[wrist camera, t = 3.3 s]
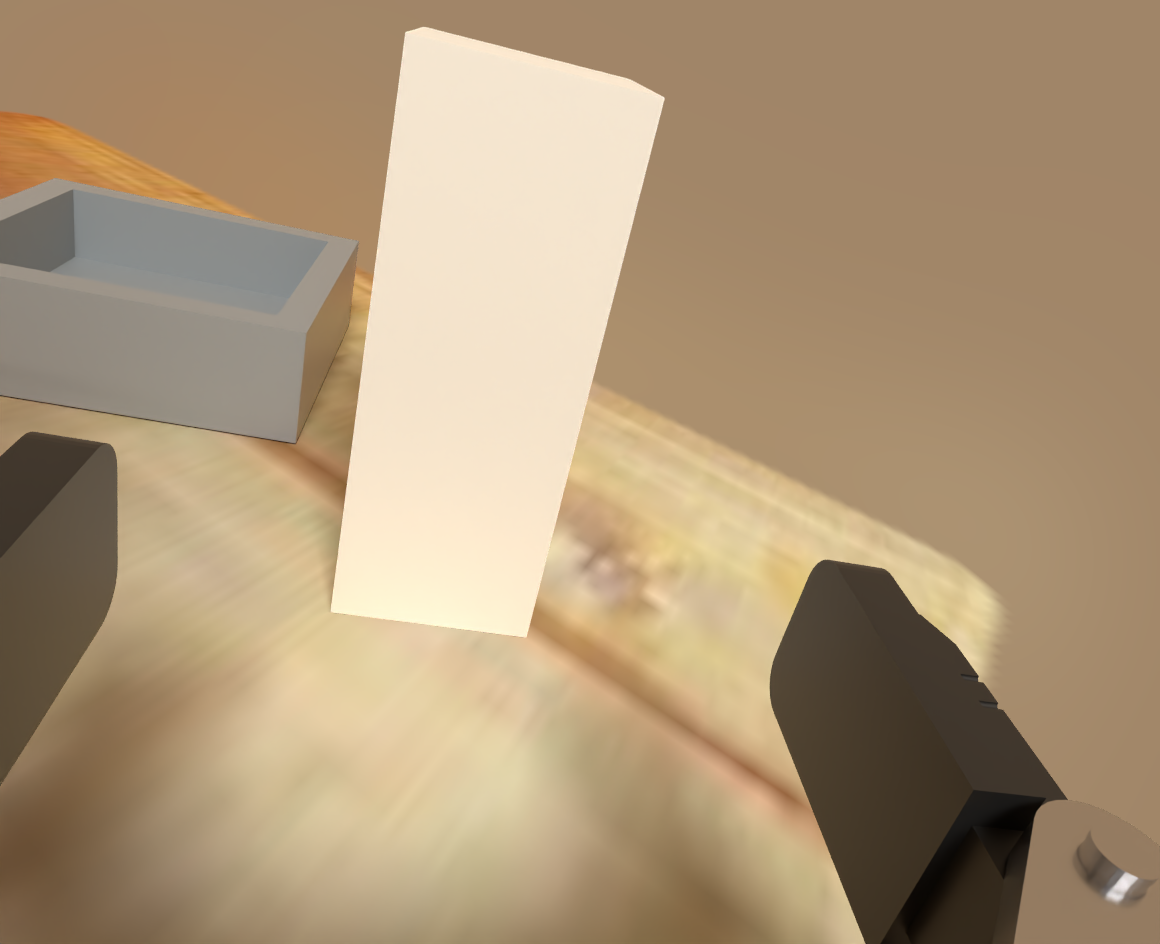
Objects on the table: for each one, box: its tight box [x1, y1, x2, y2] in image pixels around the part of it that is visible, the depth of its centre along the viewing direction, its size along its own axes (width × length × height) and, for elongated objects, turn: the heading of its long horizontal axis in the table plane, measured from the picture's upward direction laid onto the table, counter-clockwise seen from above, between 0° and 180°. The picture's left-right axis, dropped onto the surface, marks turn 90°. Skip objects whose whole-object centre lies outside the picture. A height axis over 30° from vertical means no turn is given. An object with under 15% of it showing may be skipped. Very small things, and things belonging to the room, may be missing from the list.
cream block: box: [331, 27, 664, 638], centre depth 19 cm, size 4×4×12 cm
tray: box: [0, 178, 359, 443], centre depth 29 cm, size 11×11×4 cm
